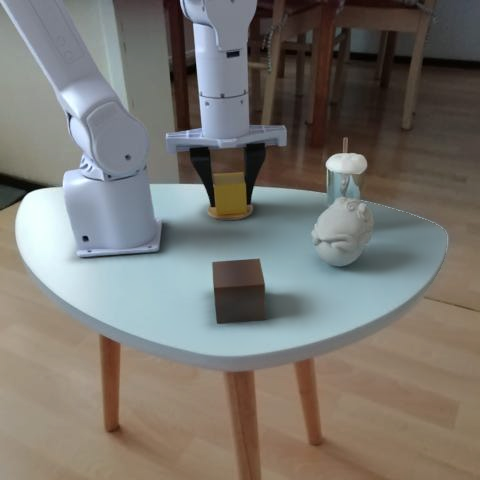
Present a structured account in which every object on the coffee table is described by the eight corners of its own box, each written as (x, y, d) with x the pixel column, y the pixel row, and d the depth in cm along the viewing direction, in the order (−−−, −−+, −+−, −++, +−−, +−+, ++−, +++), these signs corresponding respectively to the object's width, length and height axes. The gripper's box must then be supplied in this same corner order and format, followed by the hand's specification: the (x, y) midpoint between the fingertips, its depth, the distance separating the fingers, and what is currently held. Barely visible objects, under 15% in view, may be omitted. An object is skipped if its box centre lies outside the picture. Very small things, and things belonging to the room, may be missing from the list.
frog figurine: (381, 259, 54) (390, 199, 49) (342, 285, 50) (348, 222, 46) (336, 241, 57) (341, 184, 53) (297, 264, 54) (299, 204, 49)
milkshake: (357, 218, 62) (366, 137, 56) (361, 238, 58) (371, 153, 52) (320, 217, 62) (325, 137, 56) (322, 237, 58) (327, 153, 52)
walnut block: (216, 323, 46) (213, 287, 43) (215, 295, 50) (212, 261, 47) (265, 319, 46) (265, 284, 44) (260, 292, 50) (259, 258, 47)
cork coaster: (208, 222, 63) (208, 219, 63) (207, 202, 68) (207, 200, 67) (254, 218, 63) (254, 216, 63) (250, 199, 68) (250, 197, 68)
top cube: (216, 215, 63) (213, 185, 61) (215, 202, 67) (212, 174, 64) (246, 213, 64) (245, 183, 61) (244, 200, 67) (243, 171, 64)
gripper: (158, 105, 53) (174, 220, 61) (291, 96, 53) (289, 212, 62) (162, 90, 59) (176, 197, 67) (282, 82, 59) (281, 190, 67)
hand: (230, 203), depth 65 cm, fingers closed on top cube, 4 cm apart
